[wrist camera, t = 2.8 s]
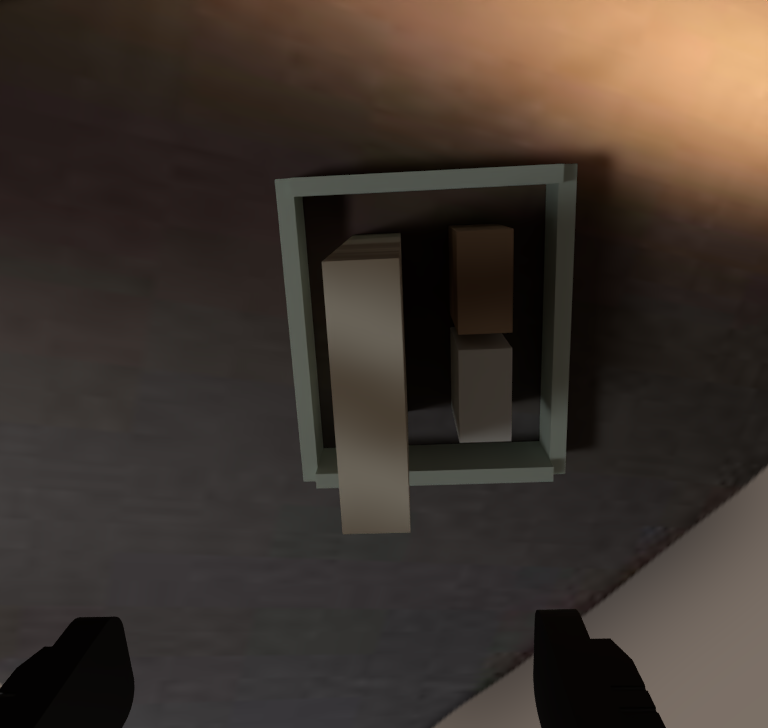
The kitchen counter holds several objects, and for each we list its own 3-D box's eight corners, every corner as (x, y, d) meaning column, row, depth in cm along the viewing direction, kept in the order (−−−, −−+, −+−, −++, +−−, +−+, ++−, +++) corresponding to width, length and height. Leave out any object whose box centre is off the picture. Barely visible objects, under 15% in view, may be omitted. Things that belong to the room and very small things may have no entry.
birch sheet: (352, 235, 37) (321, 261, 23) (400, 233, 37) (399, 258, 23) (364, 412, 41) (342, 534, 26) (407, 411, 40) (410, 532, 26)
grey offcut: (450, 327, 39) (458, 350, 33) (496, 325, 39) (512, 348, 33) (451, 407, 40) (459, 442, 34) (495, 405, 40) (511, 441, 34)
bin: (284, 180, 36) (271, 178, 33) (563, 166, 36) (582, 162, 32) (310, 461, 42) (301, 488, 38) (553, 453, 41) (569, 480, 37)
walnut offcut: (448, 225, 37) (456, 231, 31) (496, 223, 37) (513, 229, 31) (449, 313, 38) (458, 334, 33) (496, 311, 38) (512, 332, 33)
